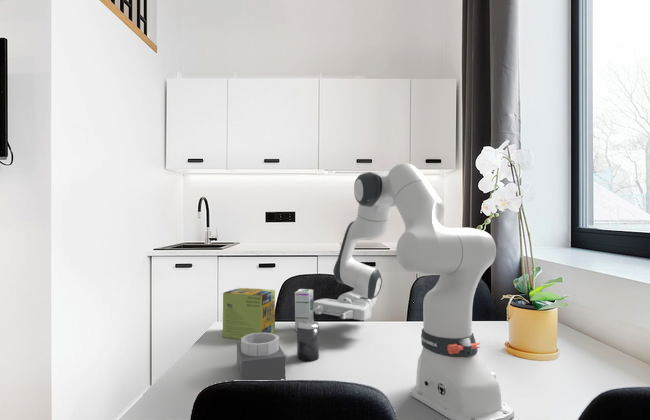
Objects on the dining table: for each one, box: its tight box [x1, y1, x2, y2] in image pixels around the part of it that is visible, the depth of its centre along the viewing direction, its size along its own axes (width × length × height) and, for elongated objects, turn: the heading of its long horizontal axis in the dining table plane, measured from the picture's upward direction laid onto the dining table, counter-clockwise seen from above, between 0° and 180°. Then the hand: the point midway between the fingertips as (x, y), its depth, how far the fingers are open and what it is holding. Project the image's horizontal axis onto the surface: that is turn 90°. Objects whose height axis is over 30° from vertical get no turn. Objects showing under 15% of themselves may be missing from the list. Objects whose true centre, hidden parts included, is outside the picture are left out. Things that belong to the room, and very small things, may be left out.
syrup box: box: [294, 288, 315, 332], centre depth 139 cm, size 6×6×14 cm
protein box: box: [222, 287, 276, 340], centre depth 133 cm, size 10×15×16 cm
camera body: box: [236, 332, 287, 380], centre depth 102 cm, size 14×11×9 cm
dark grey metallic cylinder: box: [296, 320, 320, 363], centre depth 112 cm, size 6×6×10 cm
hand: (328, 314), depth 123 cm, fingers open, 8 cm apart
